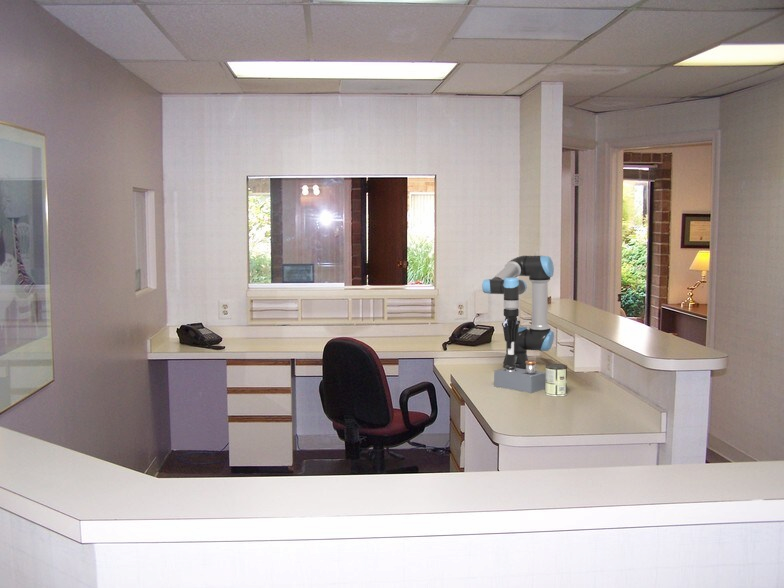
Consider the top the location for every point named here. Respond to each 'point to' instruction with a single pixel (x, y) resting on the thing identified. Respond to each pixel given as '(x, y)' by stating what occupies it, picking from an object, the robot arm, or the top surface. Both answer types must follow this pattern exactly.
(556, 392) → the coffee can
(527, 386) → the block
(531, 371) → the plunger orange
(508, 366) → the dark-lidded glass jar
